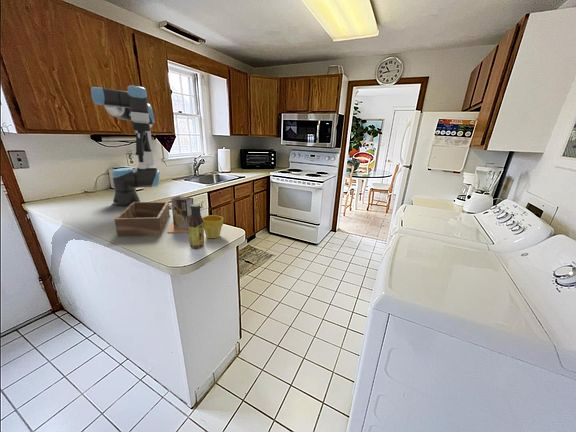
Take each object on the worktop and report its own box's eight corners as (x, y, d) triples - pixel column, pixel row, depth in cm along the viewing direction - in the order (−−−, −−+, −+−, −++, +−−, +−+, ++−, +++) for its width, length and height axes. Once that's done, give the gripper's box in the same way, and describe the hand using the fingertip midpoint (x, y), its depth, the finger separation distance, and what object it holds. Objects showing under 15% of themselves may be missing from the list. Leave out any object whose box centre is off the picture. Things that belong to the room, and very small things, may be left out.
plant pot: (212, 230, 128) (212, 213, 125) (227, 235, 124) (227, 217, 121) (197, 237, 119) (196, 218, 116) (213, 242, 115) (213, 223, 112)
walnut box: (134, 216, 138) (132, 202, 135) (169, 216, 143) (168, 202, 140) (117, 236, 112) (114, 219, 109) (160, 235, 118) (159, 218, 115)
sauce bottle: (202, 249, 107) (200, 208, 101) (188, 249, 106) (185, 207, 100) (205, 243, 113) (204, 203, 107) (192, 243, 113) (190, 202, 106)
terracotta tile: (171, 223, 133) (171, 222, 133) (198, 222, 137) (198, 221, 137) (167, 233, 121) (167, 232, 120) (196, 232, 125) (196, 231, 125)
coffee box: (195, 225, 131) (194, 197, 126) (188, 229, 125) (186, 200, 120) (180, 223, 133) (178, 195, 127) (172, 227, 127) (170, 198, 121)
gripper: (137, 121, 124) (142, 162, 131) (124, 121, 102) (130, 170, 109) (153, 122, 127) (157, 162, 134) (144, 123, 105) (149, 171, 112)
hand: (145, 166), depth 122 cm, fingers open, 13 cm apart
